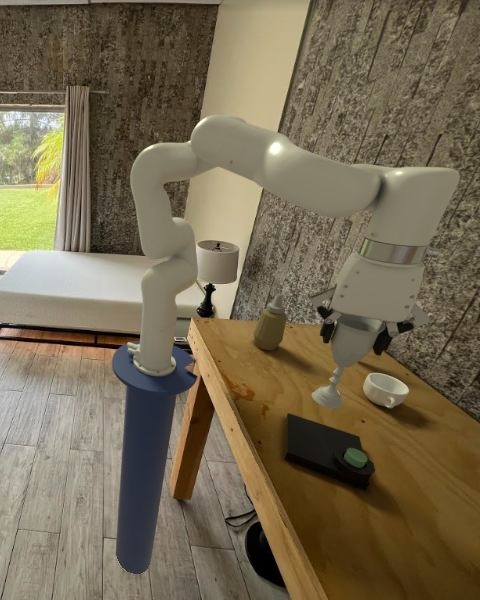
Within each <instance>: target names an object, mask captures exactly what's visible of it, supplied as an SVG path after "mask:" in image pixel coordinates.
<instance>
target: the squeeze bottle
mask: <svg viewBox="0 0 480 600" xmlns="http://www.w3.org/2000/svg"><path fill="white" fill-rule="evenodd" d="M285 311H286V306H285V304H283V294H282V293H277V295H276V296H275V298H274V299H273V301H272V302H268V303H267V306H266V308H264V309H263V310H262V311H261V313H260V316H259V318H258V320H257V323H256V325H255V327H254V331H253V338H254V344H255V346H256V347H258V348H259V349H261V350H264V351H274V350H276V349H277V347H278V346H279V345H280V344H281V343H282V342H283V340H284V334H285V328H286V323H287V318H288V315H287V314H286V313H285Z"/></svg>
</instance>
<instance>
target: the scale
mask: <svg viewBox="0 0 480 600" xmlns="http://www.w3.org/2000/svg"><path fill="white" fill-rule="evenodd" d="M349 448H354V449H357V450H359V451H361V452H363V453H364V451H363V446H362V442H361V437H360V435H356V434H353V433H351V432H347V431H344V430H341V429H338V428H336V427H332V426H328V425H325V424H322V423H320V422H317V421H314V420H312V419H311V420H310V419H307V418H304V417H302V416H299V415H296V414H292V413H289V412H287V414H286V416H285V420H284V449H283V450H284V453H283V455H284V457H283V459H284V460H286V461H288V462H291V463H293V464H295V465H299V466H301V467H303V468H306V469H309V470H310V471H314V472H317V473H319V474H322V475H324V476H327V477H329V478H332V479H334V480H337V481H339V482H342V483H344V484H347V485H350V486H352V487H354V488H357V489H360V490H363V491H367V490H368V488H369V486H370V484H371V481H370V479H372V477H373V476H374V474H375V472H376V467H375V464H374V462H373V461H372V460H371V459H370V458H369V457H368V456H367V455H366V457H367V462H366V464H365V465H364V467H363V468H357V467H354V466H352V465H351V464H349V463H348V462H346V460H345V459H344V455H345V453H346V451H347V449H349Z"/></svg>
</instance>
